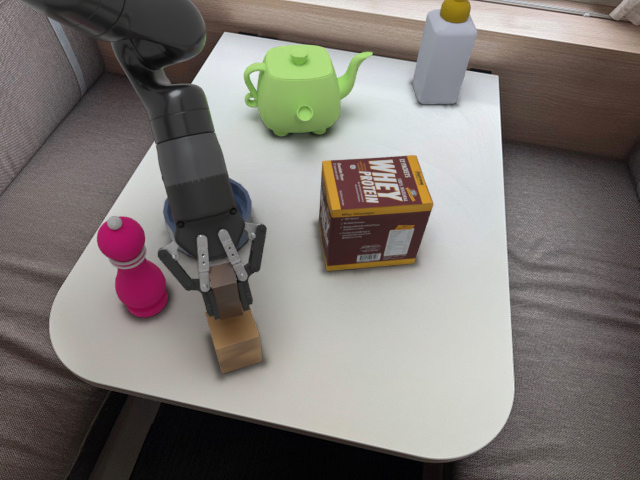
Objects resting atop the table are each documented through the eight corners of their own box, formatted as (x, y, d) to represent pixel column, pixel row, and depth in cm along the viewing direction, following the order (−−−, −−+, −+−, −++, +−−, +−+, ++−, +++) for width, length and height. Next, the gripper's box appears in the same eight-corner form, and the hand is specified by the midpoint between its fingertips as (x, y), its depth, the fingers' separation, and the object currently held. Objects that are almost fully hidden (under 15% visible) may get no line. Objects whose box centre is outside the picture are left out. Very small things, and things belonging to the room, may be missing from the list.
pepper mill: (114, 297, 81) (72, 215, 65) (155, 273, 84) (124, 188, 69) (138, 329, 78) (99, 250, 62) (180, 302, 81) (153, 221, 65)
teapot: (249, 166, 100) (243, 98, 88) (244, 96, 113) (239, 28, 101) (376, 158, 103) (387, 92, 90) (357, 91, 116) (365, 25, 103)
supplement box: (316, 223, 92) (321, 159, 80) (401, 217, 94) (417, 153, 82) (325, 272, 86) (330, 210, 74) (415, 264, 88) (435, 202, 75)
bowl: (178, 270, 85) (172, 250, 81) (162, 207, 93) (156, 186, 89) (263, 247, 89) (262, 227, 84) (240, 188, 97) (238, 167, 92)
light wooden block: (222, 374, 74) (215, 349, 68) (212, 338, 78) (205, 311, 71) (262, 361, 76) (259, 336, 70) (250, 326, 79) (247, 299, 73)
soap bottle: (457, 105, 115) (492, -7, 95) (417, 105, 114) (444, -8, 94) (448, 80, 120) (480, -31, 100) (410, 81, 119) (434, -31, 99)
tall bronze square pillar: (220, 320, 68) (211, 288, 61) (216, 301, 70) (207, 267, 62) (243, 315, 69) (236, 282, 61) (238, 295, 70) (231, 261, 63)
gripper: (133, 191, 56) (175, 339, 59) (258, 162, 60) (292, 304, 63) (137, 190, 63) (174, 322, 66) (248, 164, 67) (279, 291, 70)
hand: (231, 312), depth 64 cm, fingers closed on tall bronze square pillar, 3 cm apart
